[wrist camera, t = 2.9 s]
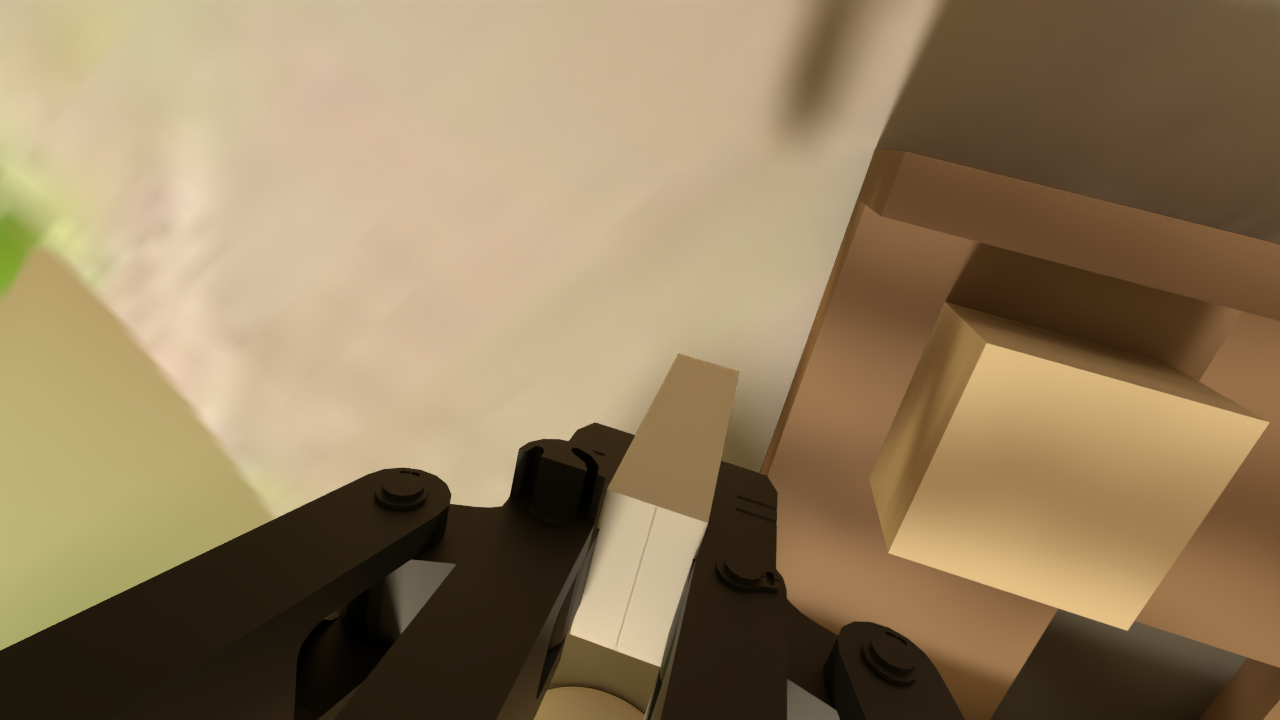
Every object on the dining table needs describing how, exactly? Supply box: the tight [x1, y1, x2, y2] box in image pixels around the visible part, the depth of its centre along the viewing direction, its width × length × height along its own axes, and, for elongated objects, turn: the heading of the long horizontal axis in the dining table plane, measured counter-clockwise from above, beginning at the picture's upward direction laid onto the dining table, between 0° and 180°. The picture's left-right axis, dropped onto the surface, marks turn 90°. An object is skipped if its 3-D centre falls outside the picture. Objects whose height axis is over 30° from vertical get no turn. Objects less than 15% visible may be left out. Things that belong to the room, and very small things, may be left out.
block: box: [869, 302, 1270, 631], centre depth 17 cm, size 6×6×4 cm
